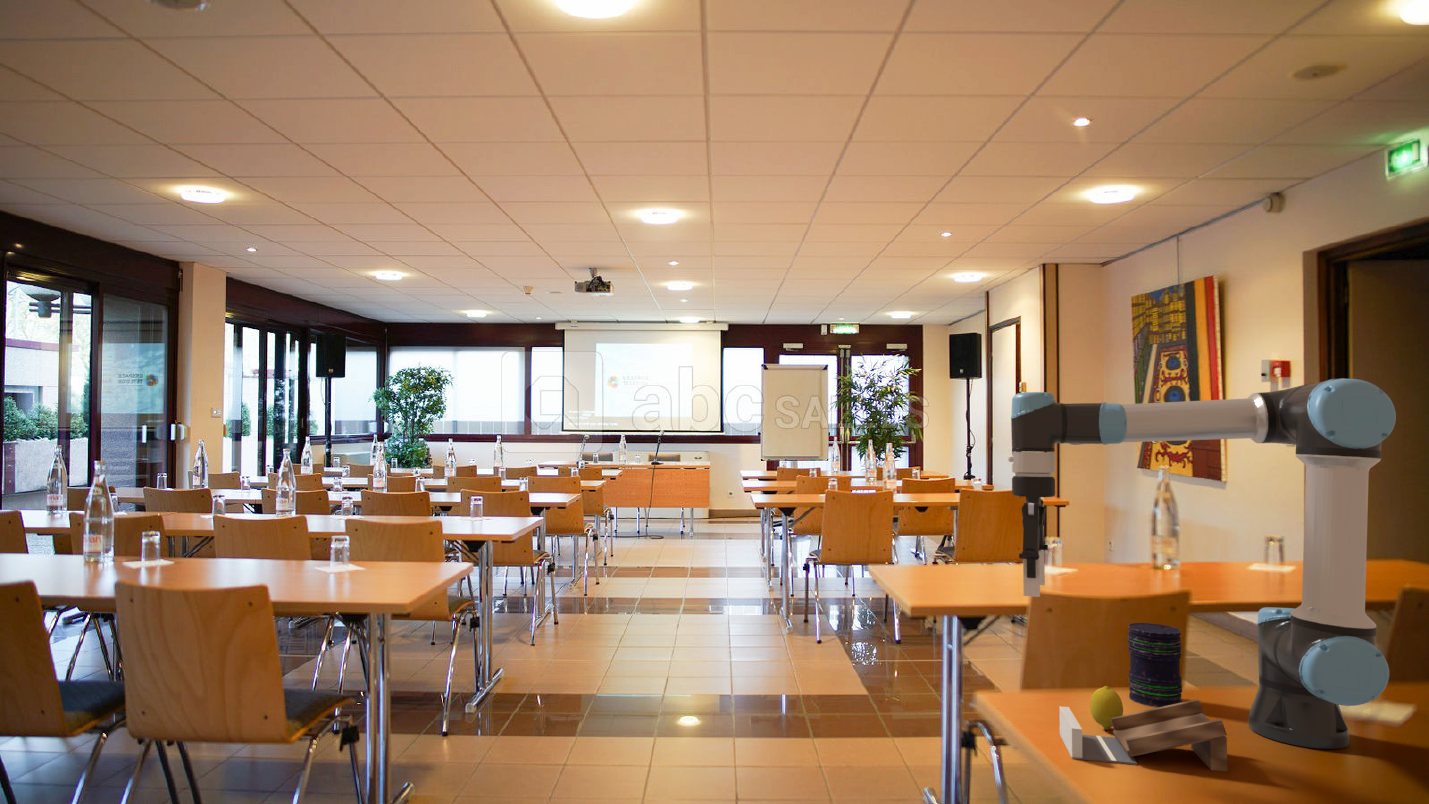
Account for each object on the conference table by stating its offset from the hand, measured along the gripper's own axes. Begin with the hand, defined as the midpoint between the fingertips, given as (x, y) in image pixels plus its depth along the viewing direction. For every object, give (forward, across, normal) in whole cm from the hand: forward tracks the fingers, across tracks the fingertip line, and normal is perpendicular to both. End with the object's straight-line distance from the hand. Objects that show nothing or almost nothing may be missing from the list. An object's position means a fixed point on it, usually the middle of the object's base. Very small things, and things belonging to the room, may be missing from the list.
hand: (1034, 590), depth 150 cm
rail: (+26, +4, +6) cm, 27 cm away
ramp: (+26, +1, +21) cm, 33 cm away
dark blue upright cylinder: (+26, -32, +21) cm, 47 cm away
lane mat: (+26, +4, +10) cm, 28 cm away
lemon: (+26, -8, +12) cm, 30 cm away
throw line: (+26, +3, +12) cm, 29 cm away
